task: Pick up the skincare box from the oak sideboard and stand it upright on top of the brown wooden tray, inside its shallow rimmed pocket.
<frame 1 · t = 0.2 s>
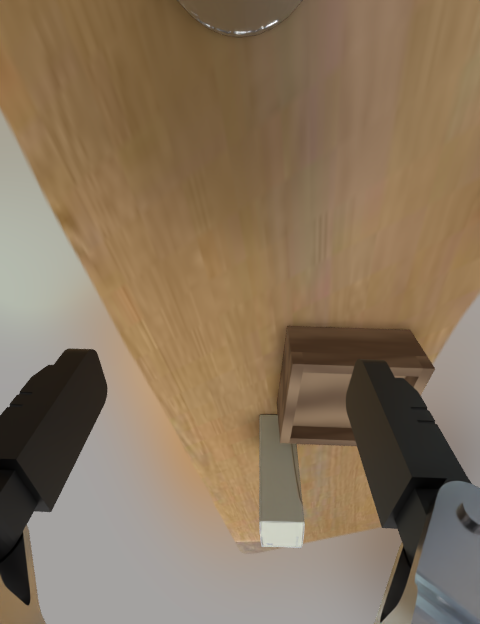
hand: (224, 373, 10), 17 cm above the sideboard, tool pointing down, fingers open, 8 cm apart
skincare box: (275, 426, 41), on the sideboard
brown wooden tray: (335, 368, 35), on the sideboard
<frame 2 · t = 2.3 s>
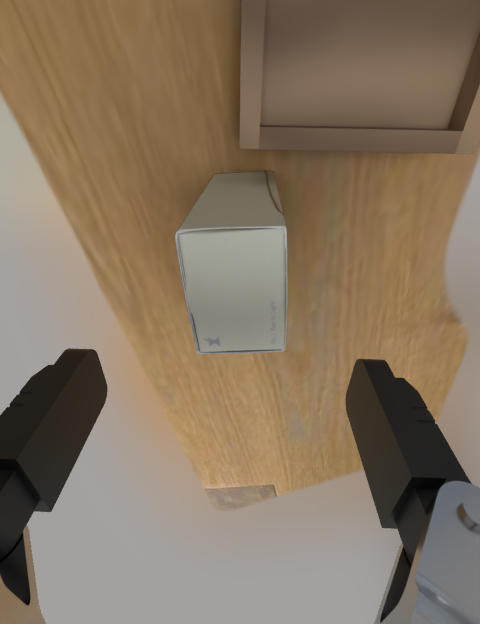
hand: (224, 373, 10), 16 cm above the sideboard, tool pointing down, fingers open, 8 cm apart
skincare box: (244, 213, 23), on the sideboard
brown wooden tray: (353, 16, 17), on the sideboard
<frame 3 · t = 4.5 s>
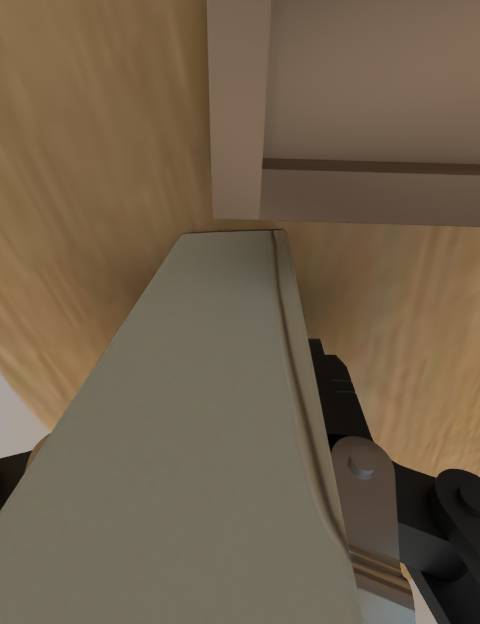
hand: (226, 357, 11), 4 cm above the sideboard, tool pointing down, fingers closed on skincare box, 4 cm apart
skincare box: (234, 293, 14), on the sideboard, touching gripper
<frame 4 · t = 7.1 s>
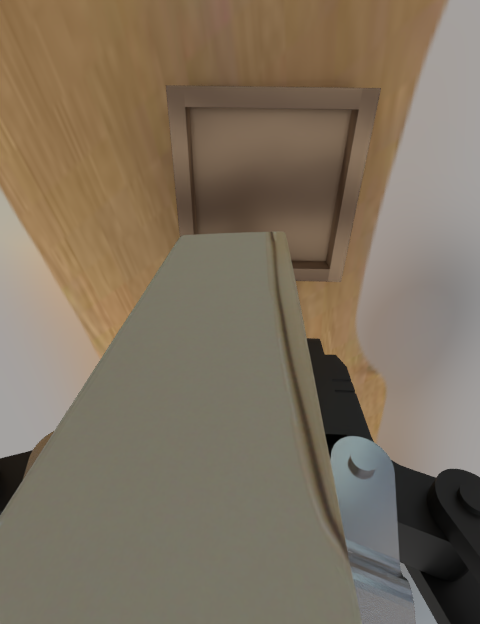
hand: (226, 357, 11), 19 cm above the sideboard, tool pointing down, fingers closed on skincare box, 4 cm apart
skincare box: (234, 294, 14), point 15 cm above the sideboard, touching gripper
brown wooden tray: (263, 182, 25), on the sideboard
when the fingers open (8 cm above the sideboard, at t = 9.8 s): skincare box stays where it is, resting on brown wooden tray.
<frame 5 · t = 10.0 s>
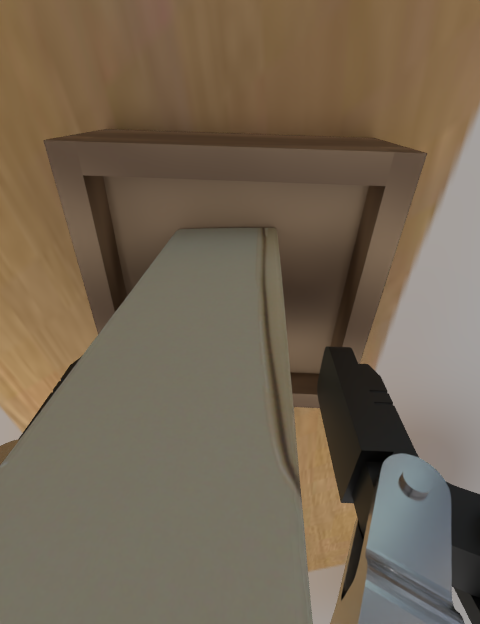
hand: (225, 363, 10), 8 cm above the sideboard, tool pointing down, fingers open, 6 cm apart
skincare box: (227, 287, 15), point 3 cm above the sideboard, touching brown wooden tray
brown wooden tray: (237, 254, 18), on the sideboard, touching skincare box
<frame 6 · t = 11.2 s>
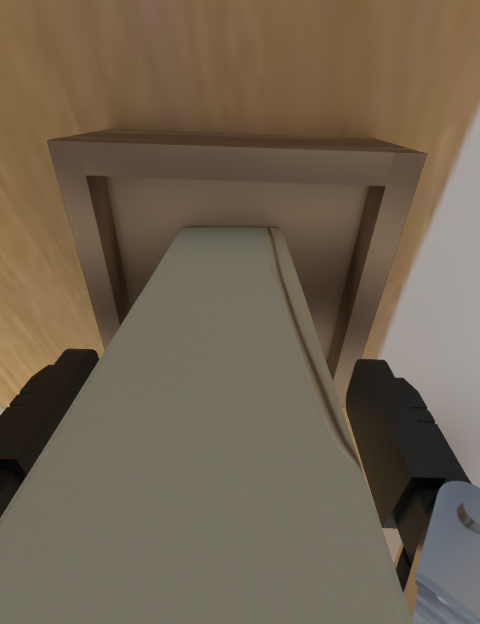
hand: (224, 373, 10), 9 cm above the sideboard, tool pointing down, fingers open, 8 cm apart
skincare box: (229, 287, 14), point 3 cm above the sideboard
brown wooden tray: (237, 254, 18), on the sideboard
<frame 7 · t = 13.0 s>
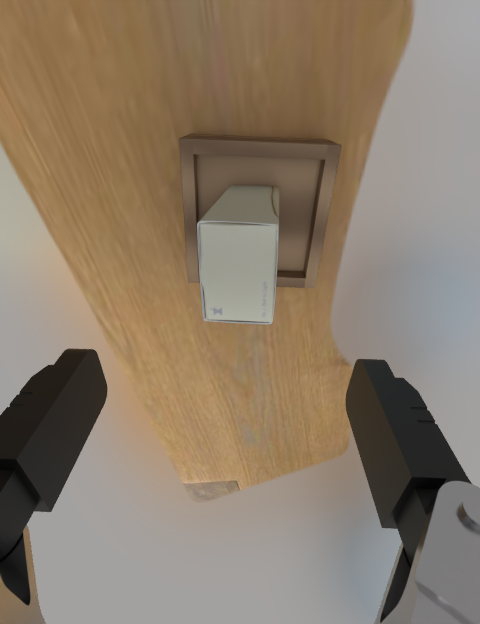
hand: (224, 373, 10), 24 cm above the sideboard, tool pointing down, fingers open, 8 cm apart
skincare box: (252, 219, 28), point 3 cm above the sideboard, touching brown wooden tray
brown wooden tray: (254, 205, 31), on the sideboard, touching skincare box
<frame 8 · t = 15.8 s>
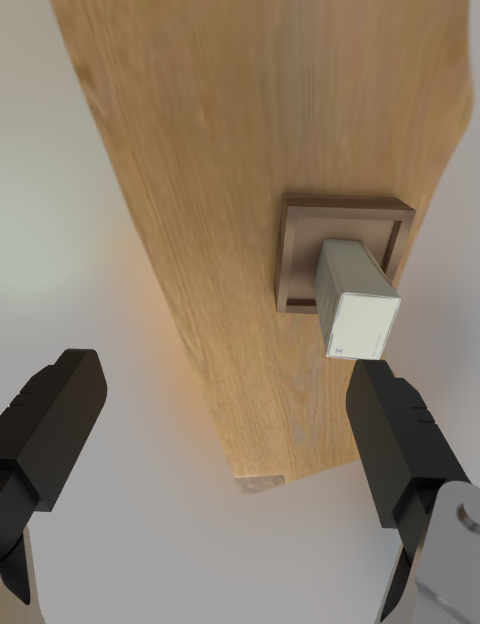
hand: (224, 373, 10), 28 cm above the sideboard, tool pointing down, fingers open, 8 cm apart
skincare box: (336, 264, 34), point 3 cm above the sideboard, touching brown wooden tray
brown wooden tray: (328, 246, 37), on the sideboard, touching skincare box
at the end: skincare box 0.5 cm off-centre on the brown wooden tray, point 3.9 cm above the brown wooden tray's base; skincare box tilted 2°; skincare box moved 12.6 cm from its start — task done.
